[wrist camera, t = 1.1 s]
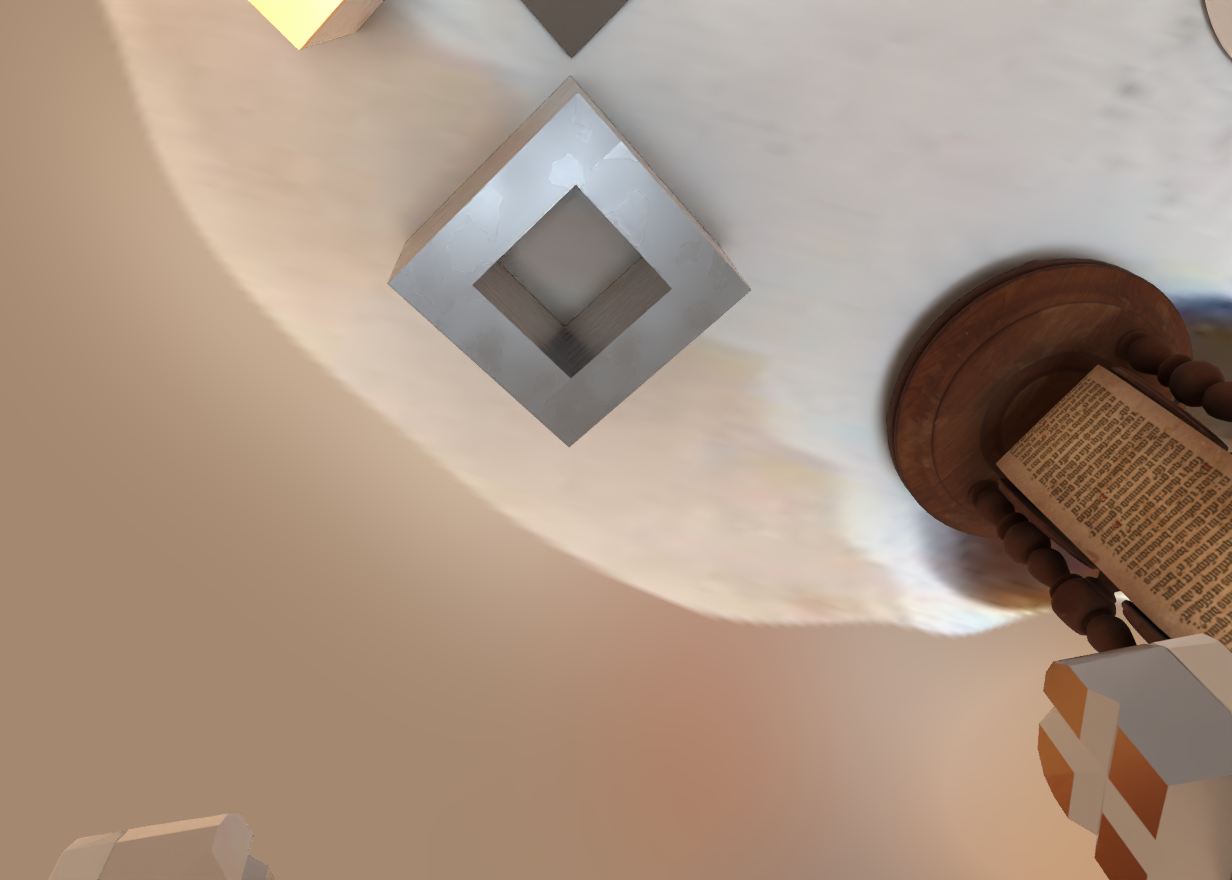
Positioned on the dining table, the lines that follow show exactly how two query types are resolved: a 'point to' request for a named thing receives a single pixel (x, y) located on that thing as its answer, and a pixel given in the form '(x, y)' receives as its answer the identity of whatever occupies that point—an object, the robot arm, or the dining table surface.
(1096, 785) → the robot arm
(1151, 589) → the scroll
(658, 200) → the square frame
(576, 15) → the mat
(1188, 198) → the dining table surface
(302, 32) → the orange tipped grey block
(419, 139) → the dining table surface
